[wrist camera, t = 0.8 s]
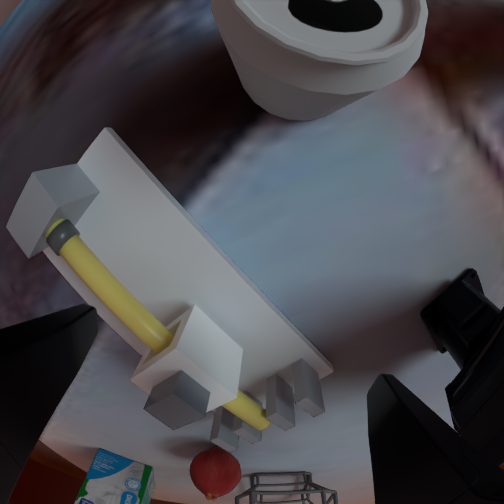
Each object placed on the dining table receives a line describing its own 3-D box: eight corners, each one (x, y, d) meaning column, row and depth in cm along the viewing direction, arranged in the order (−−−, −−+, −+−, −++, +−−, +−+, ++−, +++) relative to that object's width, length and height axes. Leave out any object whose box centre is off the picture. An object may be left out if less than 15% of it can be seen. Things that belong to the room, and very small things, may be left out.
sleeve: (243, 349, 21) (233, 422, 15) (198, 376, 22) (179, 443, 16) (194, 304, 20) (166, 371, 13) (152, 337, 21) (118, 400, 15)
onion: (244, 459, 30) (239, 511, 23) (199, 455, 31) (189, 505, 23) (242, 437, 28) (236, 495, 21) (192, 432, 29) (178, 489, 21)
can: (247, 128, 18) (215, 97, 7) (232, 28, 15) (191, -82, 4) (360, 119, 17) (471, 94, 6) (340, 21, 15) (406, -78, 3)
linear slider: (331, 364, 24) (343, 415, 18) (232, 416, 27) (226, 463, 21) (111, 127, 18) (61, 126, 12) (38, 233, 21) (-6, 257, 15)
